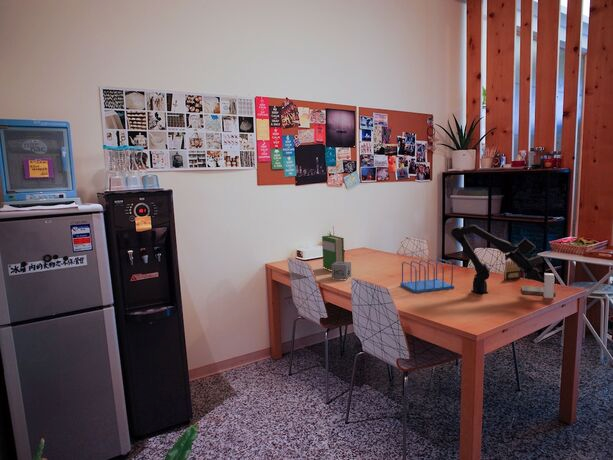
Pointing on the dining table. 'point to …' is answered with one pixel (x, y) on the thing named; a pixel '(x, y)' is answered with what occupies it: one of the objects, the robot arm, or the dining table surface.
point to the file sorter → (427, 284)
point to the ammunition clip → (511, 271)
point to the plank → (533, 290)
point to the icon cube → (341, 270)
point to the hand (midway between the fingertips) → (543, 282)
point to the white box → (548, 285)
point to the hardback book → (332, 250)
